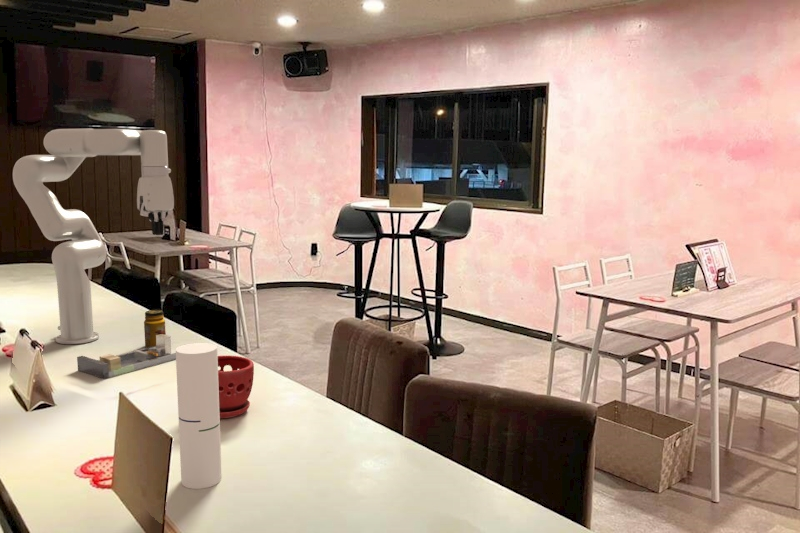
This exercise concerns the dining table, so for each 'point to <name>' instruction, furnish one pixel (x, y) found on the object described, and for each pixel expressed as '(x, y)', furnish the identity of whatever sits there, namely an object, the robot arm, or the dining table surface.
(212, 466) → the cylindrical container
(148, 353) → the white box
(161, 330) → the condiment
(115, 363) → the beech block
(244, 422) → the dining table surface
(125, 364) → the tray
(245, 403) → the plant pot
